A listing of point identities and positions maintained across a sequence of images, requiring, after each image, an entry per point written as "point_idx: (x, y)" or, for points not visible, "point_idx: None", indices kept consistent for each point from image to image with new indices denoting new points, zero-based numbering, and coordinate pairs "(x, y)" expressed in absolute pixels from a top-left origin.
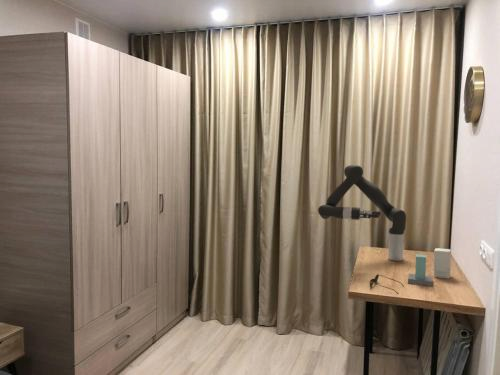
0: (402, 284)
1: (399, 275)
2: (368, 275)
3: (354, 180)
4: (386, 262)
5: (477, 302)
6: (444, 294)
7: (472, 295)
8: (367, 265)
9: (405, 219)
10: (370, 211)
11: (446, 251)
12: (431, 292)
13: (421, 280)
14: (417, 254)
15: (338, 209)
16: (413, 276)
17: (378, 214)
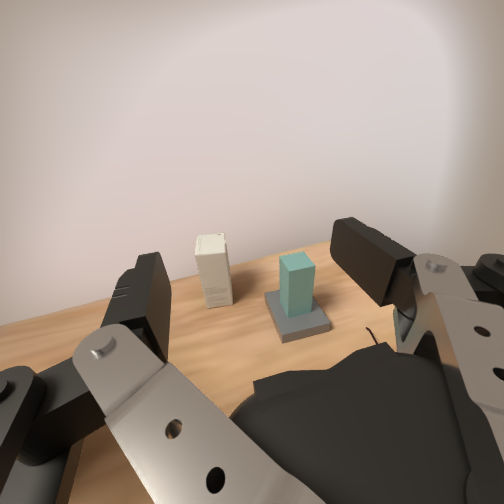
0: (368, 328)
1: (277, 372)
2: None
3: None
4: (108, 500)
5: (325, 242)
6: (332, 270)
7: (299, 249)
8: None
9: None
10: (172, 369)
11: (224, 236)
12: (342, 284)
13: (314, 299)
14: (288, 269)
15: None
16: (299, 319)
17: (348, 219)
